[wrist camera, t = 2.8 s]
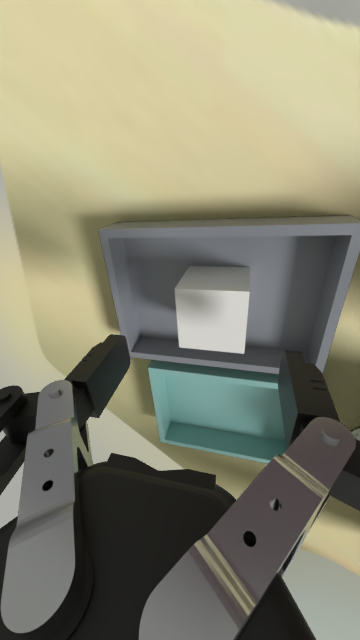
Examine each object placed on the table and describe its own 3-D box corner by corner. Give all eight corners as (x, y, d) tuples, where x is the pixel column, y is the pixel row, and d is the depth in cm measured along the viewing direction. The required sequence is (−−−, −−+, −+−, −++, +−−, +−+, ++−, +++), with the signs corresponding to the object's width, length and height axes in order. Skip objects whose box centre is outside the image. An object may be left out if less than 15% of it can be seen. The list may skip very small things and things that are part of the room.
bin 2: (310, 363, 21) (317, 388, 19) (289, 441, 27) (293, 468, 24) (158, 348, 25) (147, 367, 22) (167, 419, 30) (160, 442, 28)
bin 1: (349, 215, 15) (368, 223, 13) (312, 354, 21) (320, 379, 18) (117, 222, 19) (97, 229, 17) (138, 338, 25) (125, 356, 22)
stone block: (249, 267, 18) (249, 291, 14) (245, 320, 20) (244, 353, 16) (189, 266, 19) (174, 288, 15) (191, 316, 21) (179, 347, 17)
